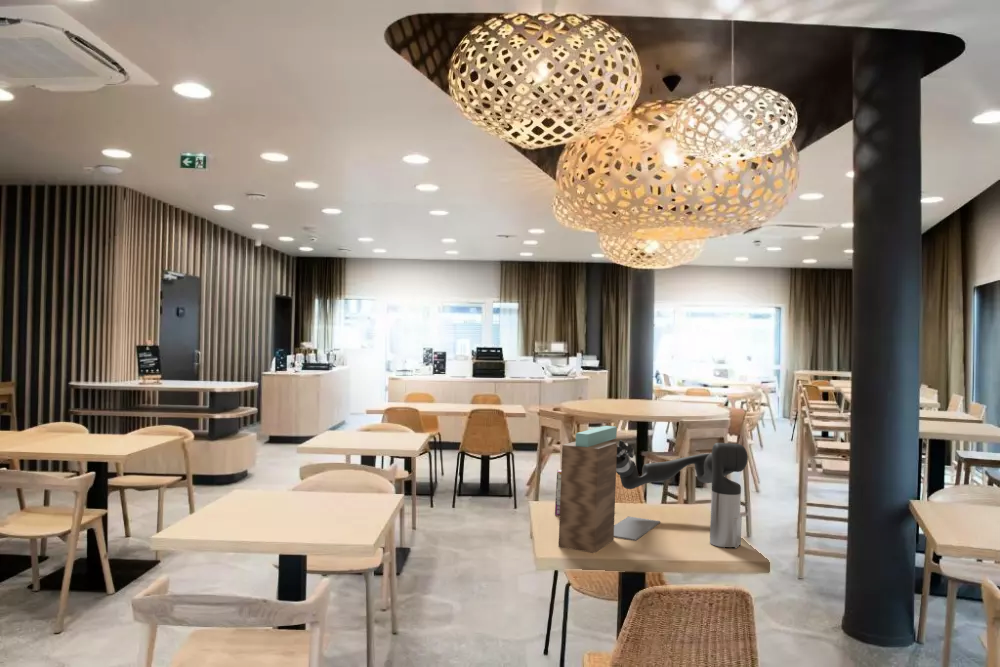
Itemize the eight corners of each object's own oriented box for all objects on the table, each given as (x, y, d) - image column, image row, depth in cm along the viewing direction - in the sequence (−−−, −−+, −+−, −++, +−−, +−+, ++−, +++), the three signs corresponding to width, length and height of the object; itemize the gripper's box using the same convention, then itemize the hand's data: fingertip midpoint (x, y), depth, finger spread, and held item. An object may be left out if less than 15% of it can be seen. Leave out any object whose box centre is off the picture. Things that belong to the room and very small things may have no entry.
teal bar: (616, 438, 251) (616, 426, 251) (587, 447, 226) (587, 434, 226) (605, 437, 253) (605, 425, 253) (575, 445, 228) (575, 433, 228)
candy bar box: (554, 515, 270) (556, 471, 270) (555, 512, 275) (556, 469, 275) (585, 517, 269) (586, 473, 269) (584, 514, 274) (586, 470, 274)
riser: (613, 539, 239) (617, 442, 239) (594, 552, 223) (598, 448, 223) (579, 534, 244) (583, 439, 245) (558, 546, 228) (562, 444, 229)
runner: (660, 522, 265) (660, 521, 265) (635, 540, 239) (635, 539, 239) (628, 517, 271) (628, 516, 271) (601, 535, 244) (601, 533, 244)
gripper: (636, 470, 257) (626, 453, 244) (598, 466, 263) (586, 449, 251) (639, 451, 260) (630, 433, 248) (601, 447, 267) (590, 429, 254)
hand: (608, 441), depth 249 cm, fingers open, 8 cm apart
